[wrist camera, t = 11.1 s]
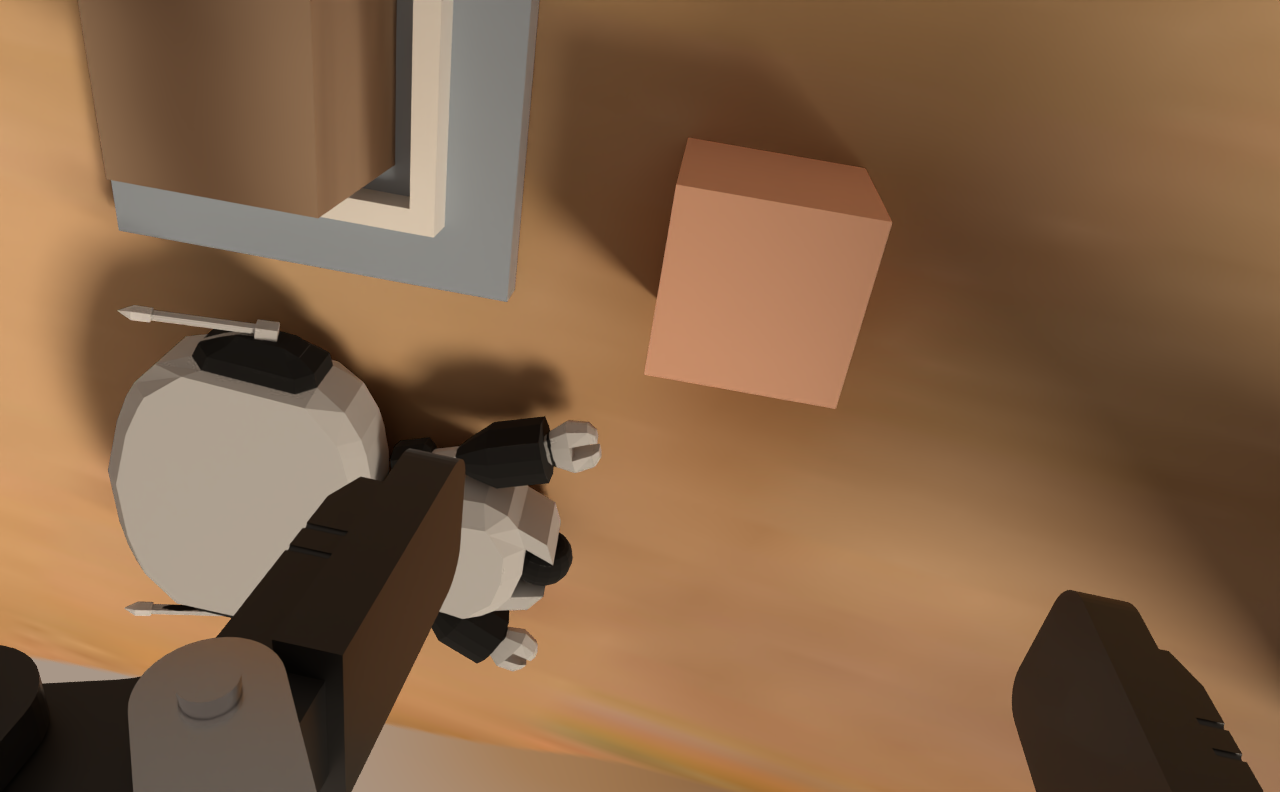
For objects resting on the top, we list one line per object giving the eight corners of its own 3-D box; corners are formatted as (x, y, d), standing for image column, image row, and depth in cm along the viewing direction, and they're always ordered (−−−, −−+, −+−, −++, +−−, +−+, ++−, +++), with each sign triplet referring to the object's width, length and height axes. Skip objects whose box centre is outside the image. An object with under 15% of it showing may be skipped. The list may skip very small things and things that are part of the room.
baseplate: (553, -167, 20) (536, -176, 19) (514, 289, 26) (499, 315, 25) (70, -252, 21) (8, -268, 19) (139, 220, 27) (97, 241, 25)
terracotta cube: (864, 167, 24) (892, 222, 19) (820, 328, 26) (835, 408, 22) (688, 136, 24) (676, 184, 19) (660, 299, 26) (644, 374, 22)
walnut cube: (397, -32, 21) (309, -21, 17) (395, 164, 24) (317, 218, 20) (203, -67, 21) (67, -65, 17) (221, 133, 24) (106, 179, 20)
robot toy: (624, 375, 29) (169, 251, 27) (616, 450, 25) (84, 311, 23) (542, 626, 35) (166, 538, 33) (525, 718, 31) (98, 624, 29)
